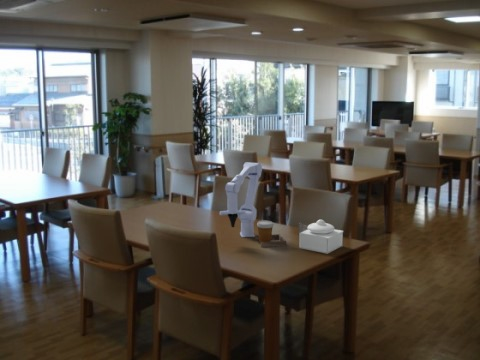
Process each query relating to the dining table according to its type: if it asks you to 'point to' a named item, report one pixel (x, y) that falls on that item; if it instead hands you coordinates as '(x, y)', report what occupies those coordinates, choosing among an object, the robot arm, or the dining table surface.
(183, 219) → the dining table surface
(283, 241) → the cup holder
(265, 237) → the disposable coffee cup
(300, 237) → the butter dish
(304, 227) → the architectural model on board
